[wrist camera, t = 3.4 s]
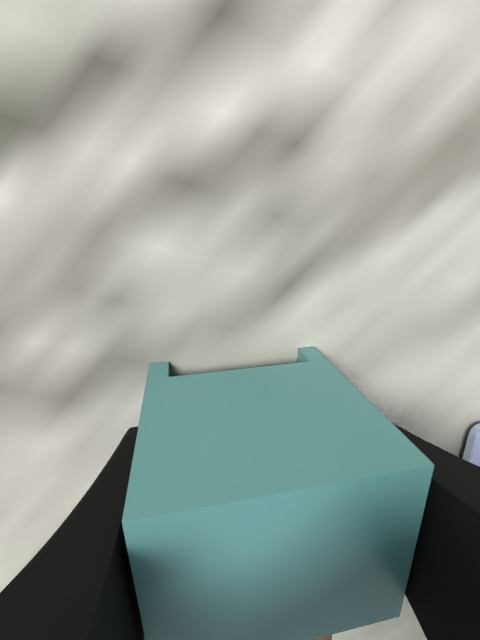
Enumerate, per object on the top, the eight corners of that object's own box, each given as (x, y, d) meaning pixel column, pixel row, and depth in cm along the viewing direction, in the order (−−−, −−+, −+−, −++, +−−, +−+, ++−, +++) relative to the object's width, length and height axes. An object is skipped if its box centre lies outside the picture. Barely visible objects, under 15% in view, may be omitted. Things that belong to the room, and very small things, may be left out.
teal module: (314, 346, 11) (434, 464, 6) (308, 450, 12) (399, 616, 7) (149, 363, 10) (121, 521, 5) (163, 473, 12) (153, 682, 6)
